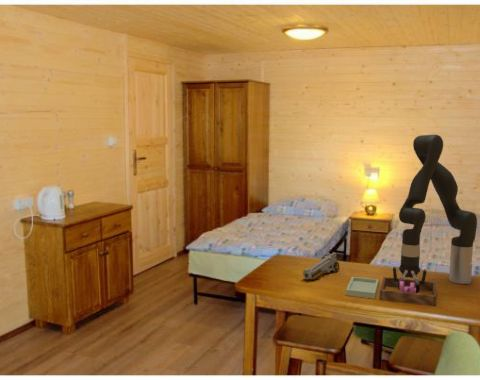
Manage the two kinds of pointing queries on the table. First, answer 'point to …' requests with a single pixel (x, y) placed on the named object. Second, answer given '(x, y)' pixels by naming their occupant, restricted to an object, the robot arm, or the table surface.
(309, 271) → the toy
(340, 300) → the table surface
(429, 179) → the robot arm
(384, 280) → the crate
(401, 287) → the bracket
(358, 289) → the tray
